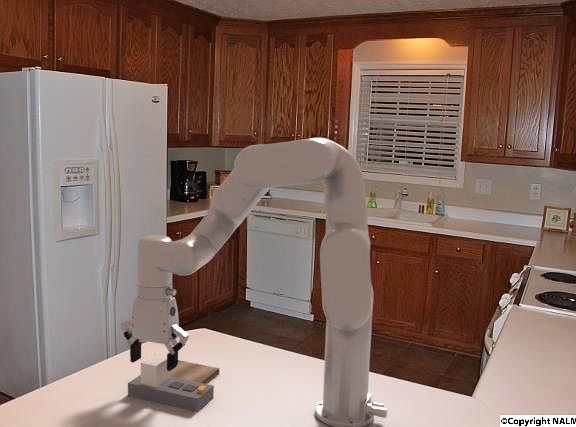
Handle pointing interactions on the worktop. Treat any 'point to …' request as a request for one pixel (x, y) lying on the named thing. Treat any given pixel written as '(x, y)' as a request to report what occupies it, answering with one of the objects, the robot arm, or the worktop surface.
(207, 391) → the power strip
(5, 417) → the worktop surface
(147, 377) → the block
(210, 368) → the pad
